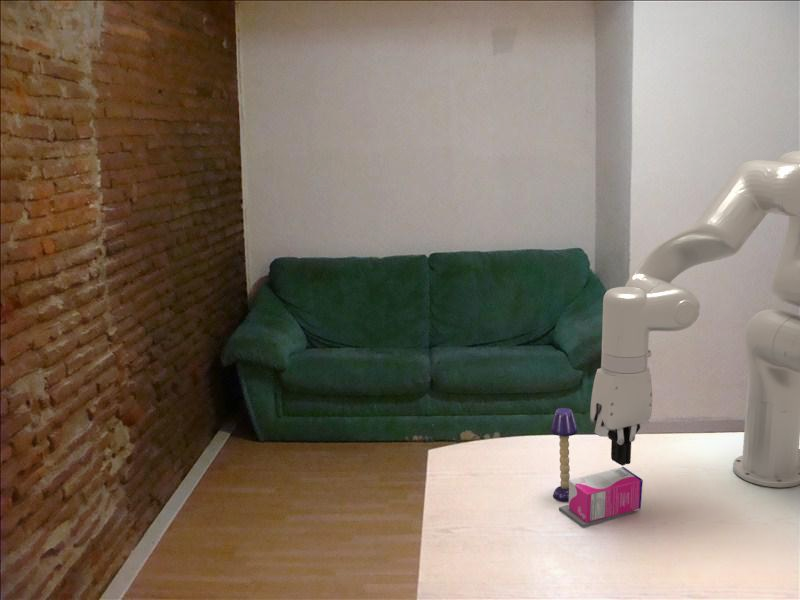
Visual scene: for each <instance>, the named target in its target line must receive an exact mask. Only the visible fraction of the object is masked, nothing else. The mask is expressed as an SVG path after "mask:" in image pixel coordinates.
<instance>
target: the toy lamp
mask: <svg viewBox="0 0 800 600" xmlns="http://www.w3.org/2000/svg"><path fill="white" fill-rule="evenodd" d="M550 432H551V433H552V434H553V435H554V436H558V438H559V455H560V456H559V464H560V465H559V471H560V474H559V477H560V482H559V483H560V484H559V485H560V486H559V485H558V486H557V487H556V488H555V489H554V491H553V494H552V496H553V499H554V500H556V501H558V502H561V503H569V480H570V478H571V474H570V471H571V470H570V457H569V455H570V449H569V447H570V442H569V439H570V437H571V436H574V435H576V434H577V433H578V425H577V422H576V419H575V416H574V411H573V410H572V409H570V408H566V407H560V408H557V409H555V412H554V416H553V419H552V422H551V428H550Z"/></svg>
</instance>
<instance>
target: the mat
mask: <svg viewBox="0 0 800 600" xmlns="http://www.w3.org/2000/svg"><path fill="white" fill-rule="evenodd" d="M558 511H559V512H561V513H562V514H563V515H565V516H566V517H568V518H569V519H571V520H572V521H573V522H574V523H576V524H577V525H579V526H580V527H582V528H583V529H585V528H589V527H592V526H595V525H598V524H601V523H604V522H608V521H611V520H614V519H618V518H620V517H624V516H627V515H630V514H634V513H636V510H634V511H630V512H626V513H622V514H618V515H615V516H611V517H607V518H603V519H599V520H595V521H592V522H588V523H586V522H585V521H584V520H583V519H581V518H580V517H579V516H578V515H576V514H575V513H574V512H573V511H571V510H570V509H569V503H568V504H565V505H561V506H559V507H558Z"/></svg>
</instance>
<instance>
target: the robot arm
mask: <svg viewBox="0 0 800 600" xmlns="http://www.w3.org/2000/svg"><path fill="white" fill-rule="evenodd" d="M709 203H710V204H708V206H707V207H706V208H705V210H704V211H703V213H702V214H700V215H699V217H698V219H697V220H696V221H695V222H694V223H693V224H692V225H691V226H689V227H687V228H685V229H683V230H681V231H680V232H678V233H676V234H674V235H673V236H671V237H670V238H668V239H667V240H665V241H664V242H662V243H660V244H659V245H658V246H656V247H655V248H653V250H651V251H650V252H649V253H648V254H647V255H646V256H645V257H644V258H643V259H642V261H641V262H640V263H639V264H638V265H637V267H636V268H635V270H634V271H633V273H632V274H631V275H630V277H629V278H628V280H627V282H626V283H625V285H624V286H618V287H614V288H613V287H612V288H610V289H608V290H607V291H606V292H605V294H604V295H603V299H602V329H601V330H602V332H601V361H600V368H597V369H596V372H595V376H594V380H593V385H592V390H591V391H592V392H591V400H590V411H589V414H590V415H589V416H590V417H589V418H590V421H591V423H594V424H595V428H594V434H595V435H597V436H599V437H605V438H607V439H609V440H611V443H610V444H611V447H610V449H611V450H610V458H611V460H612V461H613V462H615V463H616V464H618V465H620V466H622V467H624V466H625V465H631V463H632V462H631V459H632V456H631V454H632V443H633V442H634V441H635V440H636V434H637V433H638V432H639V430H640V429H642V428H644V427H646V426H647V425H649V422H650V419H651V417H652V414H653V383H652V376H651V371H650V370H651V369H650V366H648V362H649V358H651V357H652V351H651V350H650V349H649V342H650V341H649V338H650V333H651V332H680V331H684V330H686V329H688V328H690V327H691V326H692V325H693V324H695V322H696V321H697V320H698V319H699V316H700V314H701V313H700V312H701V304H700V302H699V299H698V297H697V296H696V295H695V293H693V292H692V291H690V290H689V289H687V288H685V287H682V286H679V285H676V284H674V283H672V281H674V280H675V279H676V278H677V277H678V276H679V275H681V274H682V273H684V272H686V271H687V270H688V269H691V268H693V267H695V266H698V265H702V264H706V263H709V262H715V261H720V260H723V259H727V258H729V257H733V256H734V255H737V253H739V251H740V250H741V249H742V247H743V246H744V245H745V244H746V242H747V241H748V239H749V238H750V237H751V235H752V234H753V233H754V231H756V229H757V228H758V226H759V225H761V222H762V221H763V220H764V219H765V218H766V216H767V215H768V214H775V215H781V216H785V217H786V216H787V217H788V226H787V230H786V234H785V237H784V241H783V243H782V246H781V250H780V252H779V256H778V259H777V262H776V265H775V269H774V272H773V275H772V279H771V287H770V288H771V292H772V294H773V296H775V298H777V299H778V300H780V301H781V302H784V303H786V304H789V305H792V306H794V307H797V308H800V150H793V151H789V152H786V153H784V154H783V155H781V156H780V157H779V158H778V159H777V161H774V160H765V159H754V160H749V161H747V162H744V163H742V164H741V165H740V166H739V167H738V168H737V169H735V171H734V172H733V174H732V175H731V176H730V178H729V179H728V180H727V181H726V182H725V184H724V185H723V186H722V187H721V189H720V190H719V191H718V193H717V194H716V195H715V197H714V198H713V200H711V202H709ZM744 342H745V343H744V344H745V349H746V356H747V365H748V366H747V369H748V371H747V372H748V373H747V391H746V392H747V393H746V405H745V416H744V417H745V419H744V433H743V445H742V455H740V456H738V457H736V458H735V459H734V461H733V463H732V464H733V465H732V466H733V467H732V469H733V472H734V473H735V474H736V475H737V476H738V477H740V478H741V479H742V480H745V481H747V482H749V483H752V484H755V485H758V486H762V487H769V488H770V487H771V488H791V487H795V486H798V485H800V314H797V313H793V312H790V311H787V310H783V309H777V308H776V309H775V308H768V309H763V310H761V311H759V312H757V313H755V314H754V315H753V316H752V317H751V318H750V319H749V322H748V324H747V325H746V328H745V335H744Z"/></svg>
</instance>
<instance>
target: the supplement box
mask: <svg viewBox="0 0 800 600" xmlns="http://www.w3.org/2000/svg"><path fill="white" fill-rule="evenodd" d="M643 483H644V480H643V479H642V478H641V477H639V476H638V475H636V474H635V473H633V472H632V471H630V470H629V469H627V468H626V467H624V466H622V467H617V468H614V469H609V470H605V471H600V472H597V473H593V474H588V475H584V476H580V477H576V478H572V479H569V502H568V504H569V509H570V510H571V511H573V512H574V513H575V514H576V515H578V516H579V517H580V518H581V519H583V520H584V521H585V522H586V523H588V522H592V521H595V520H599V519H603V518H607V517H611V516H615V515H618V514H622V513H626V512H630V511H634V510H635V511H637V510H641V509H642V494H643Z"/></svg>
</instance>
